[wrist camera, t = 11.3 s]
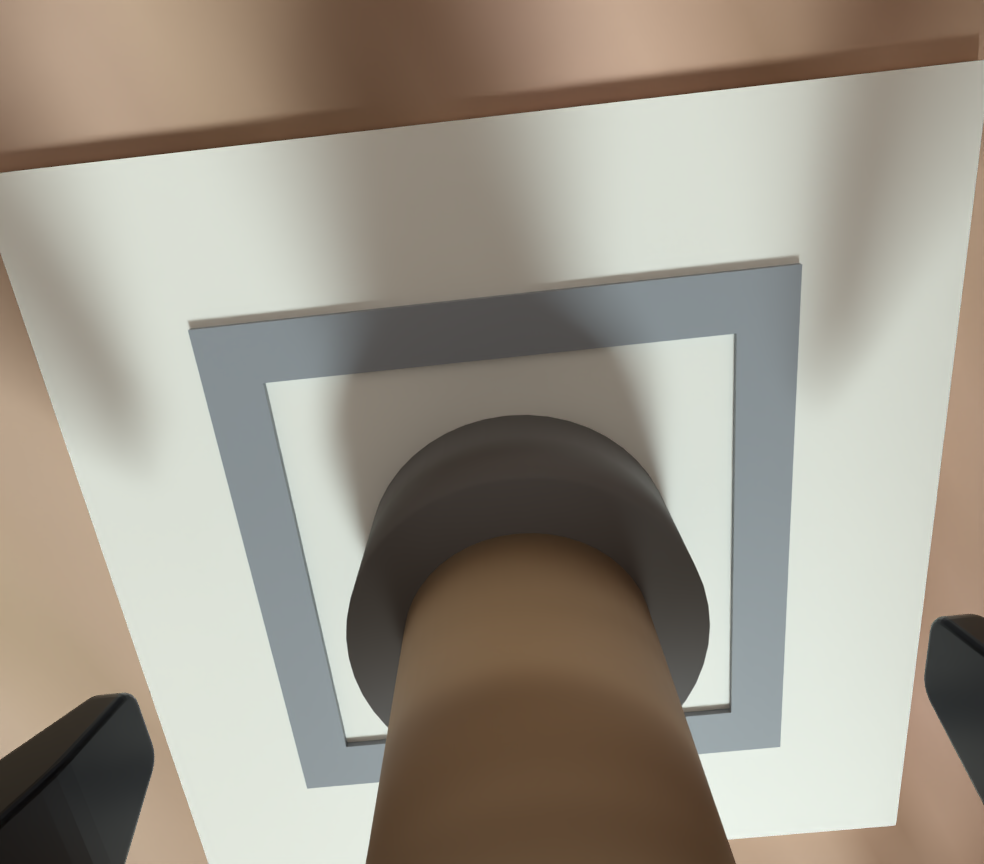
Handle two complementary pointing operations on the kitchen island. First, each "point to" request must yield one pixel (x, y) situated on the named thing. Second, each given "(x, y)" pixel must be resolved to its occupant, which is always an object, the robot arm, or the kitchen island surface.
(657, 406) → the sheet
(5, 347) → the kitchen island surface
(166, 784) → the kitchen island surface
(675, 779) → the stamp
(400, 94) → the kitchen island surface
